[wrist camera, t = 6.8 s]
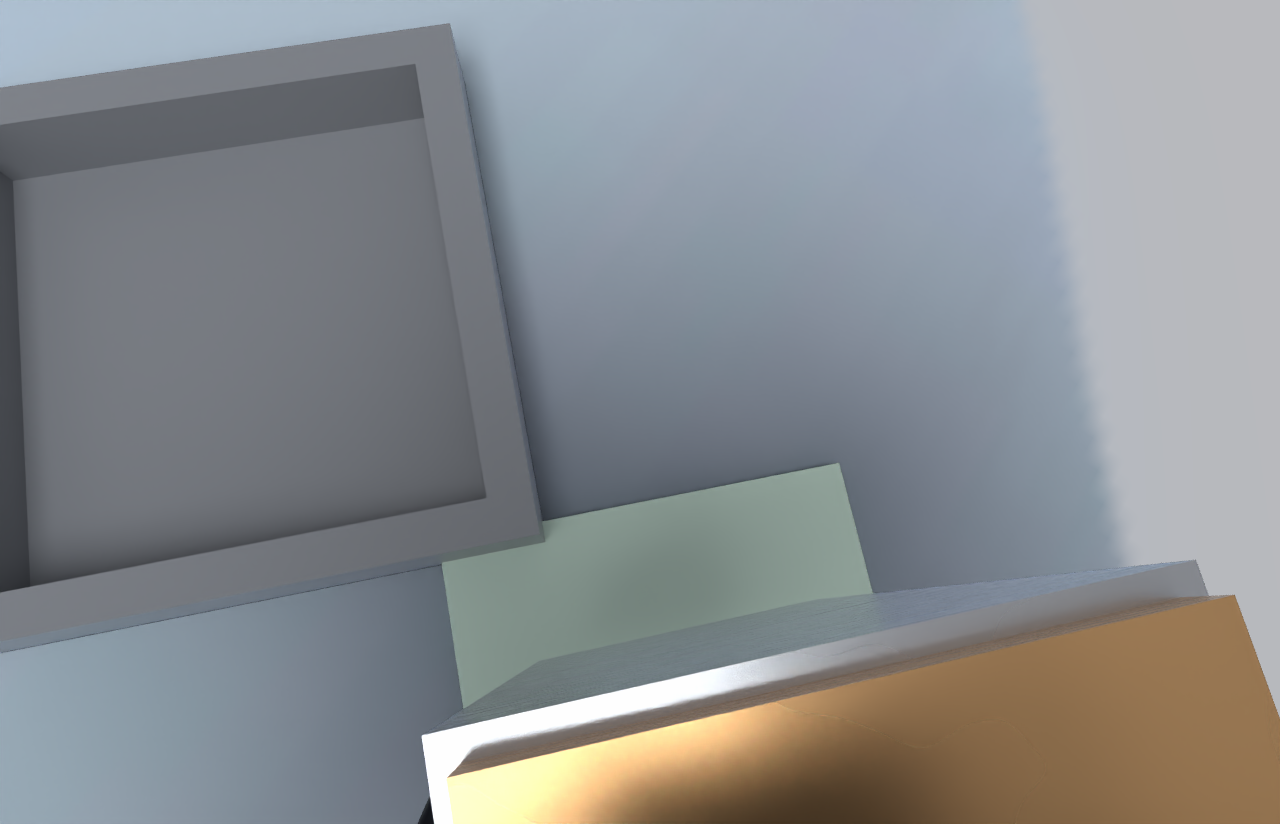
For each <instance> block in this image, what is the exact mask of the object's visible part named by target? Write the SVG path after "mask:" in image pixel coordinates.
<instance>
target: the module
mask: <svg viewBox="0 0 1280 824" xmlns="http://www.w3.org/2000/svg"><path fill="white" fill-rule="evenodd" d="M422 741H423V748H424V755H425V762H426V769H427V775H428V782H429V789H430V796H431V803H432V810H433V817H434V824H1280V718H1279V715H1278V712H1277V710H1276V707H1275V704H1274V701H1273V699H1272V696H1271V693H1270V690H1269V688H1268V685H1267V682H1266V680H1265V677H1264V674H1263V671H1262V668H1261V666H1260V663H1259V660H1258V657H1257V655H1256V652H1255V649H1254V646H1253V644H1252V641H1251V638H1250V635H1249V633H1248V630H1247V628H1246V624H1245V622H1244V619H1243V616H1242V614H1241V611H1240V608H1239V605H1238V603H1237V600H1236V597H1235V595H1223V596H1222V595H1221V596H1209V595H1208V593H1207V590H1206V587H1205V584H1204V581H1203V578H1202V576H1201V573H1200V570H1199V567H1198V564H1197V562H1196V560H1189V561H1180V562H1170V563H1160V564H1151V565H1141V566H1131V567H1122V568H1112V569H1103V570H1093V571H1083V572H1074V573H1064V574H1055V575H1045V576H1035V577H1026V578H1016V579H1007V580H997V581H987V582H978V583H968V584H959V585H949V586H939V587H930V588H920V589H911V590H901V591H891V592H882V593H872V594H863V595H853V596H844V597H834V598H824V599H815V600H811V601H806V602H802V603H797V604H793V605H788V606H784V607H779V608H775V609H770V610H766V611H761V612H757V613H752V614H748V615H743V616H739V617H734V618H730V619H725V620H721V621H716V622H712V623H707V624H703V625H698V626H694V627H689V628H685V629H680V630H676V631H671V632H667V633H662V634H658V635H653V636H649V637H644V638H640V639H635V640H631V641H626V642H621V643H617V644H612V645H608V646H603V647H599V648H594V649H590V650H585V651H581V652H576V653H572V654H567V655H563V656H558V657H554V658H549V659H545V660H540V661H538V662H536V663H535V664H533V665H532V666H530V667H528V668H527V669H525V670H524V671H522V672H521V673H519V674H517V675H516V676H514V677H513V678H511V679H510V680H508V681H506V682H505V683H503V684H502V685H500V686H499V687H497V688H496V689H494V690H492V691H491V692H489V693H488V694H486V695H485V696H483V697H481V698H480V699H478V700H477V701H475V702H474V703H472V704H470V705H469V706H467V707H466V708H464V709H463V710H461V711H459V712H458V713H456V714H455V715H453V716H452V717H450V718H448V719H447V720H445V721H444V722H442V723H441V724H439V725H437V726H436V727H434V728H433V729H431V730H430V731H428V732H426V733H425V734H423V735H422Z"/></svg>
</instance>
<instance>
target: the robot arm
mask: <svg viewBox="0 0 1280 824" xmlns="http://www.w3.org/2000/svg"><path fill="white" fill-rule="evenodd" d="M418 824H434V817H433V810H432V803H431V796H429V799H428V801H427V803H426V806H425V808H424V810H423V812H422V815H421V817H420V819H419V822H418Z"/></svg>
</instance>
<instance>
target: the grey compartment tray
mask: <svg viewBox="0 0 1280 824" xmlns="http://www.w3.org/2000/svg"><path fill="white" fill-rule="evenodd" d="M542 521H543V520H542V515H541V509H540V503H539V498H538V492H537V486H536V481H535V475H534V470H533V464H532V458H531V453H530V447H529V441H528V436H527V430H526V425H525V419H524V413H523V408H522V402H521V396H520V391H519V385H518V380H517V374H516V368H515V363H514V357H513V351H512V346H511V340H510V334H509V329H508V323H507V318H506V312H505V306H504V301H503V295H502V289H501V284H500V278H499V273H498V267H497V261H496V256H495V250H494V244H493V239H492V233H491V228H490V222H489V216H488V211H487V205H486V199H485V194H484V188H483V183H482V177H481V171H480V166H479V160H478V154H477V149H476V143H475V138H474V132H473V126H472V121H471V115H470V109H469V104H468V98H467V93H466V87H465V82H464V78H463V74H462V70H461V66H460V62H459V58H458V54H457V51H456V47H455V43H454V39H453V35H452V31H451V27H450V23H449V24H442V25H435V26H428V27H421V28H414V29H407V30H400V31H393V32H386V33H379V34H372V35H365V36H358V37H351V38H344V39H337V40H330V41H323V42H316V43H309V44H302V45H295V46H288V47H281V48H274V49H267V50H260V51H253V52H246V53H239V54H232V55H225V56H218V57H211V58H204V59H197V60H191V61H184V62H177V63H170V64H163V65H156V66H149V67H142V68H135V69H128V70H121V71H114V72H107V73H100V74H93V75H86V76H79V77H72V78H65V79H58V80H51V81H44V82H37V83H30V84H23V85H16V86H9V87H2V88H0V653H3V652H8V651H13V650H18V649H23V648H28V647H33V646H38V645H43V644H48V643H53V642H58V641H63V640H68V639H73V638H78V637H83V636H88V635H93V634H98V633H103V632H108V631H113V630H118V629H123V628H128V627H133V626H138V625H143V624H148V623H153V622H158V621H163V620H168V619H173V618H178V617H183V616H188V615H193V614H198V613H203V612H208V611H213V610H218V609H223V608H228V607H233V606H238V605H243V604H248V603H253V602H258V601H263V600H268V599H273V598H278V597H283V596H288V595H293V594H298V593H303V592H308V591H313V590H318V589H323V588H328V587H333V586H338V585H343V584H348V583H353V582H358V581H363V580H368V579H373V578H378V577H383V576H388V575H393V574H398V573H403V572H408V571H413V570H418V569H423V568H428V567H433V566H438V565H442V563H443V562H448V561H453V560H458V559H463V558H468V557H473V556H478V555H483V554H488V553H493V552H498V551H503V550H508V549H513V548H518V547H523V546H528V545H533V544H538V543H543V542H545V537H544V531H543V526H542Z"/></svg>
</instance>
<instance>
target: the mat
mask: <svg viewBox="0 0 1280 824" xmlns="http://www.w3.org/2000/svg"><path fill="white" fill-rule="evenodd" d="M542 526H543V531H544V537H545V542H543V543H538V544H533V545H528V546H523V547H518V548H513V549H508V550H503V551H498V552H493V553H488V554H483V555H478V556H473V557H468V558H463V559H458V560H453V561H448V562H443V563H442V570H443V577H444V583H445V590H446V597H447V603H448V610H449V617H450V623H451V630H452V637H453V643H454V650H455V657H456V664H457V670H458V677H459V684H460V690H461V697H462V704H463V709H464V708H466V707H467V706H469V705H470V704H472V703H474V702H475V701H477V700H478V699H480V698H481V697H483V696H485V695H486V694H488V693H489V692H491V691H492V690H494V689H496V688H497V687H499V686H500V685H502V684H503V683H505V682H506V681H508V680H510V679H511V678H513V677H514V676H516V675H517V674H519V673H521V672H522V671H524V670H525V669H527V668H528V667H530V666H532V665H533V664H535V663H536V662H538V661H540V660H545V659H549V658H554V657H558V656H563V655H567V654H572V653H576V652H581V651H585V650H590V649H594V648H599V647H603V646H608V645H612V644H617V643H621V642H626V641H631V640H635V639H640V638H644V637H649V636H653V635H658V634H662V633H667V632H671V631H676V630H680V629H685V628H689V627H694V626H698V625H703V624H707V623H712V622H716V621H721V620H725V619H730V618H734V617H739V616H743V615H748V614H752V613H757V612H761V611H766V610H770V609H775V608H779V607H784V606H788V605H793V604H797V603H802V602H806V601H811V600H815V599H824V598H834V597H844V596H853V595H863V594H872V593H873V592H872V588H871V584H870V580H869V576H868V572H867V568H866V565H865V561H864V557H863V553H862V549H861V545H860V541H859V538H858V534H857V530H856V526H855V522H854V518H853V514H852V511H851V507H850V503H849V499H848V495H847V491H846V487H845V484H844V480H843V476H842V472H841V468H840V464H839V463H835V464H830V465H825V466H820V467H815V468H810V469H805V470H800V471H795V472H790V473H785V474H780V475H775V476H770V477H764V478H759V479H754V480H749V481H744V482H739V483H734V484H729V485H724V486H719V487H714V488H709V489H704V490H699V491H694V492H689V493H684V494H678V495H673V496H668V497H663V498H658V499H653V500H648V501H643V502H638V503H633V504H628V505H623V506H618V507H613V508H608V509H603V510H598V511H593V512H587V513H582V514H577V515H572V516H567V517H562V518H557V519H552V520H547V521H542Z"/></svg>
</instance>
